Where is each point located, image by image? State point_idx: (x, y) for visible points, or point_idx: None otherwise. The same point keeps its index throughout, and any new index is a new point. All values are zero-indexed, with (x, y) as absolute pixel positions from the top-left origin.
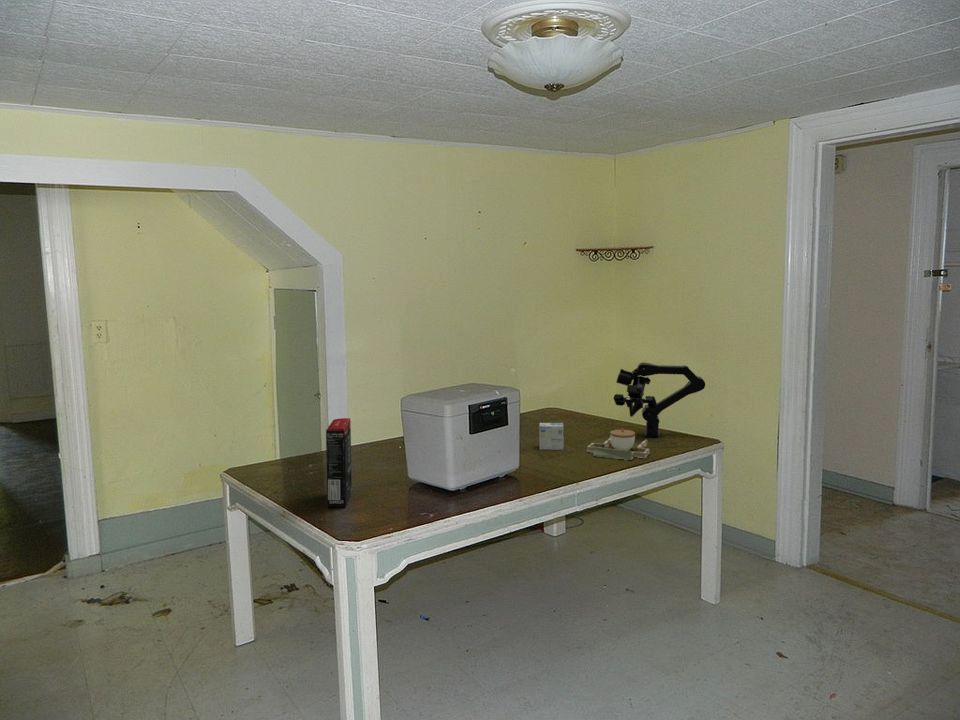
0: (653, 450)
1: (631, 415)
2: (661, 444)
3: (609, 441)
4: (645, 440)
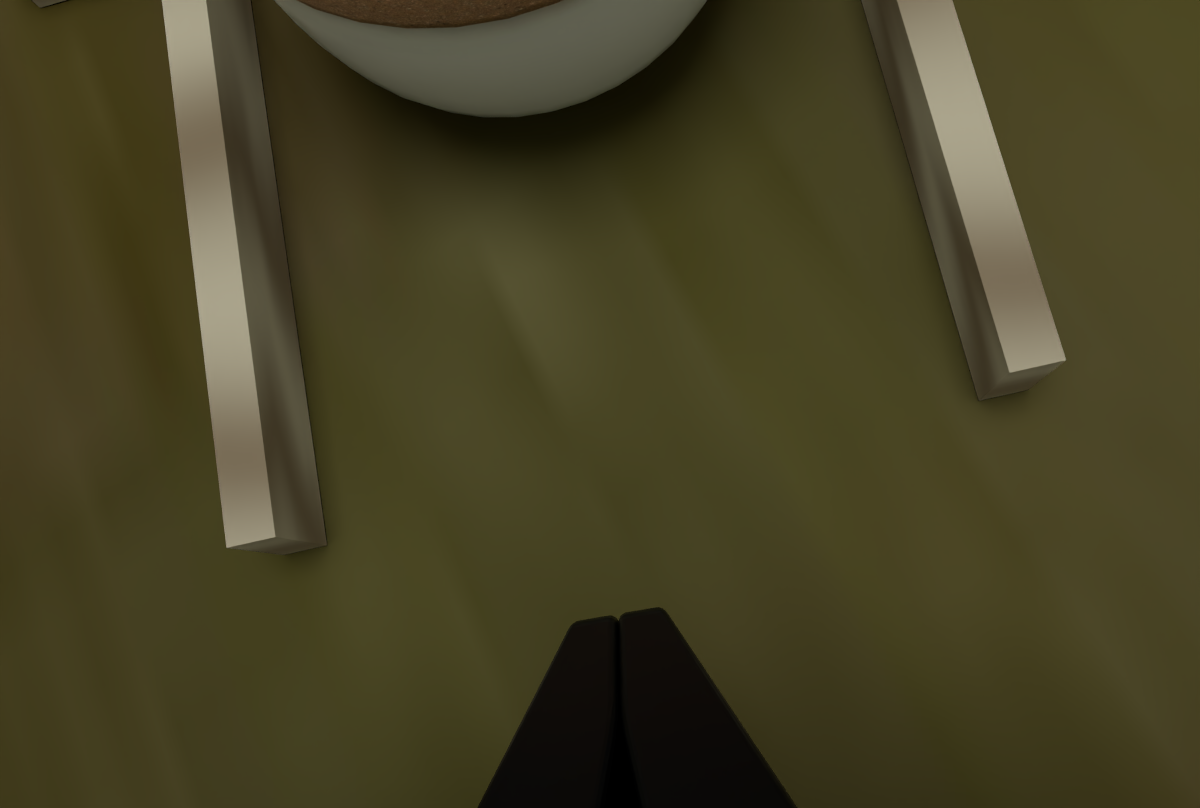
0: (65, 276)
1: (591, 620)
2: (71, 793)
3: (891, 13)
4: (237, 454)
